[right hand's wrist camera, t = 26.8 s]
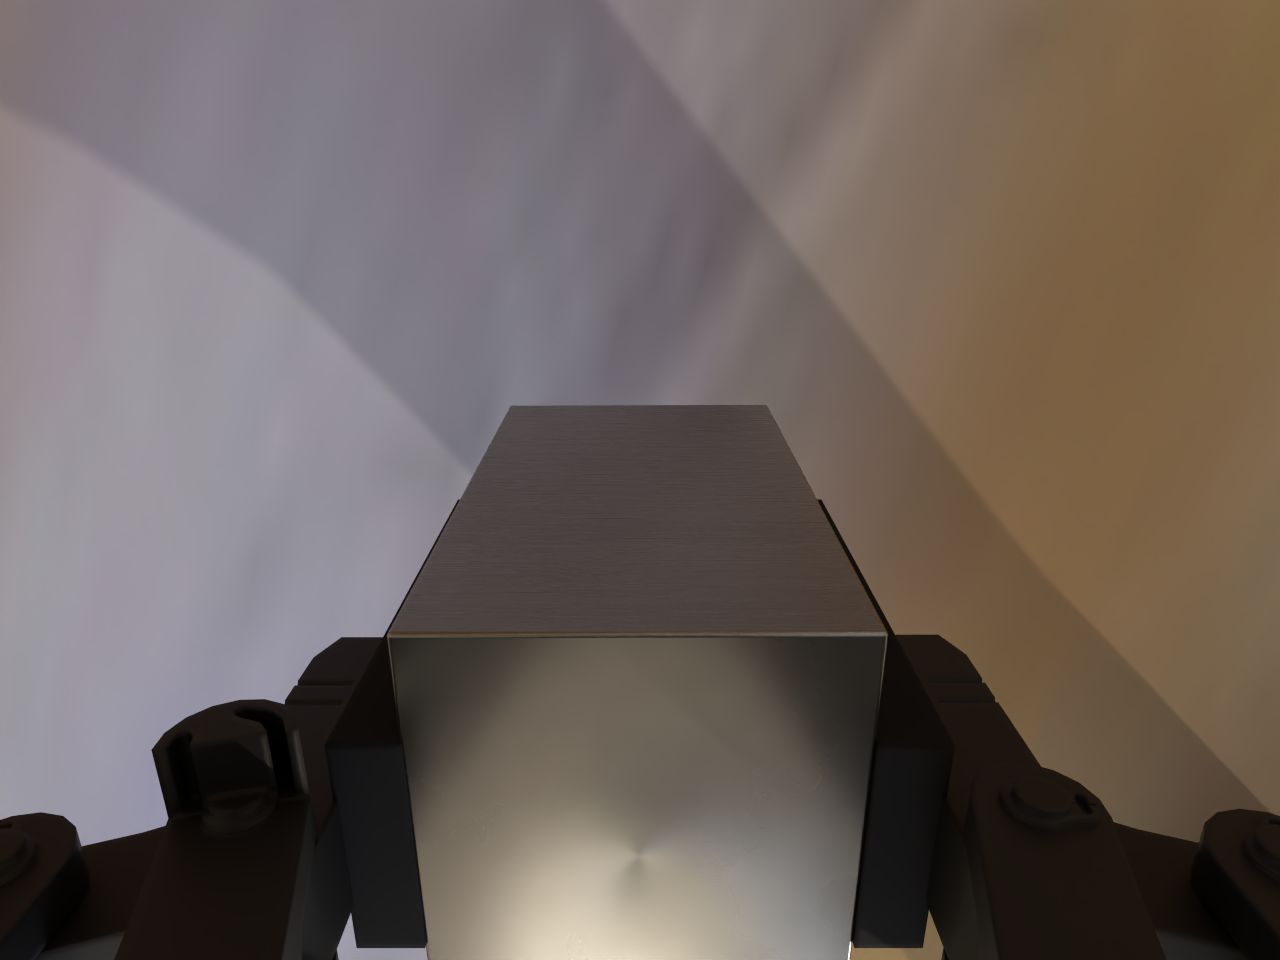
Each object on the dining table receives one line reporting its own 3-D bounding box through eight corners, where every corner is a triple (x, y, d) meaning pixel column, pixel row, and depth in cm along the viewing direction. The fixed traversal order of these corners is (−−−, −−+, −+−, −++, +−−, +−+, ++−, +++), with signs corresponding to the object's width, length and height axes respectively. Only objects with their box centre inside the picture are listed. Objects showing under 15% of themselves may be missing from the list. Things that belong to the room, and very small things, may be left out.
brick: (754, 656, 17) (842, 1035, 10) (524, 657, 17) (435, 1036, 10) (767, 403, 15) (889, 632, 8) (510, 405, 15) (385, 634, 8)
